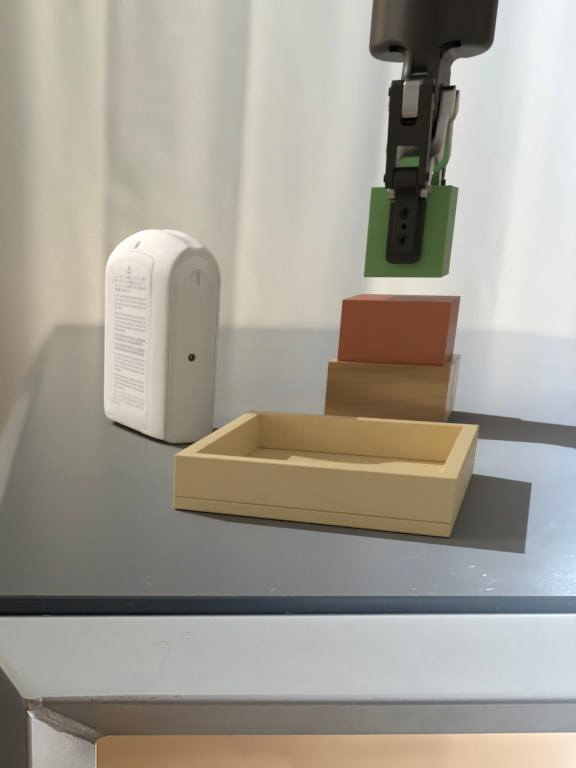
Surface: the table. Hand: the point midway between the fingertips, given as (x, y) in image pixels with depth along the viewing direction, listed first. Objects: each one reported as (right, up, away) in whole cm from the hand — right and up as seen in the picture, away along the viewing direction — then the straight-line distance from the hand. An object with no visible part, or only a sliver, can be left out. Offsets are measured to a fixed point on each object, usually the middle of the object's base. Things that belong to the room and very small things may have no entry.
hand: (408, 261), depth 68 cm
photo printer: (-17, -12, -1) cm, 21 cm away
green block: (0, -1, 0) cm, 1 cm away
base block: (0, -10, +4) cm, 10 cm away
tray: (-9, -18, -17) cm, 26 cm away
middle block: (0, -6, +2) cm, 6 cm away
